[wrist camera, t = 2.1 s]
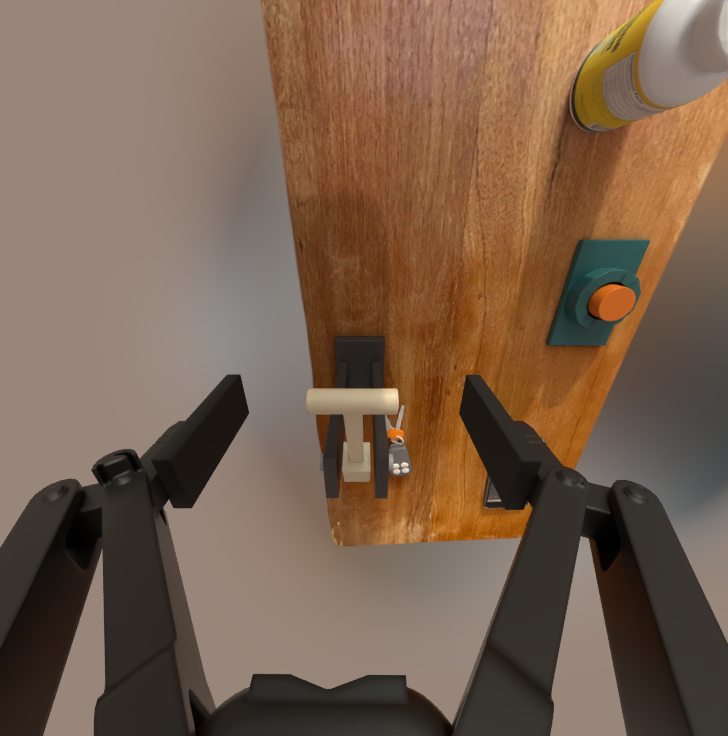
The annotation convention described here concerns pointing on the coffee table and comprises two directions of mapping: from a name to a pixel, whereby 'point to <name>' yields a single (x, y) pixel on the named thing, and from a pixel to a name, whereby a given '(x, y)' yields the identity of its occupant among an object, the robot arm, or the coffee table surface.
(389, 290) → the coffee table surface
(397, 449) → the key chain
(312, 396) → the switch lever
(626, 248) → the teal button base
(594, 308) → the button
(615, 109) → the pill bottle
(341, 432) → the lever switch stand
